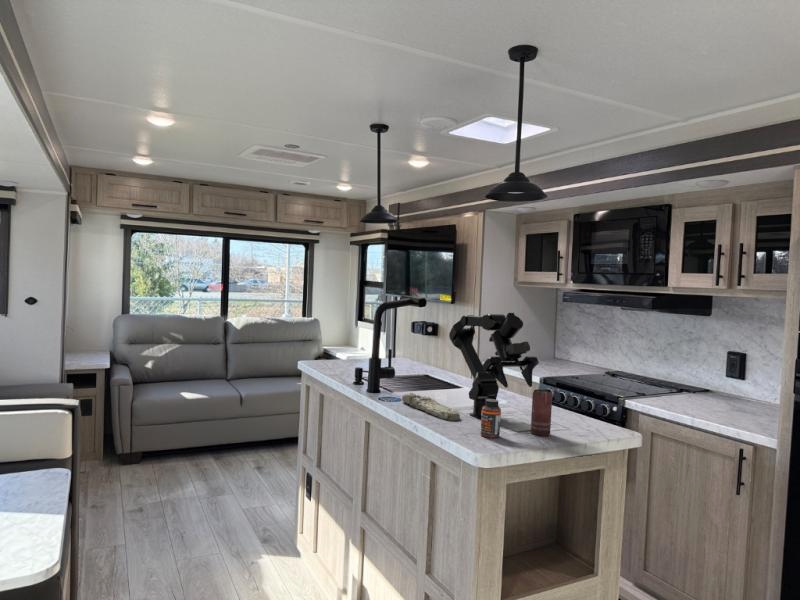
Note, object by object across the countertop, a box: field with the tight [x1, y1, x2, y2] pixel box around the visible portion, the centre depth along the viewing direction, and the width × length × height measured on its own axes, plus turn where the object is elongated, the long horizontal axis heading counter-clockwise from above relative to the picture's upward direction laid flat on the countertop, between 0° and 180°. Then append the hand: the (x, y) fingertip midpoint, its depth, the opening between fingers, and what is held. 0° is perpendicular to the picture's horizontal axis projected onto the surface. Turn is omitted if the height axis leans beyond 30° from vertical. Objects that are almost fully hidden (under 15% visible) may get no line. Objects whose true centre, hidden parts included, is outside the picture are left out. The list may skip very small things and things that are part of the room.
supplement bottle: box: [480, 399, 502, 439], centre depth 178 cm, size 6×6×11 cm
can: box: [530, 389, 553, 437], centre depth 183 cm, size 6×6×14 cm
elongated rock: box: [401, 392, 461, 422], centre depth 212 cm, size 35×5×10 cm
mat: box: [500, 421, 531, 433], centre depth 191 cm, size 10×10×1 cm
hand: (519, 386), depth 184 cm, fingers open, 9 cm apart
